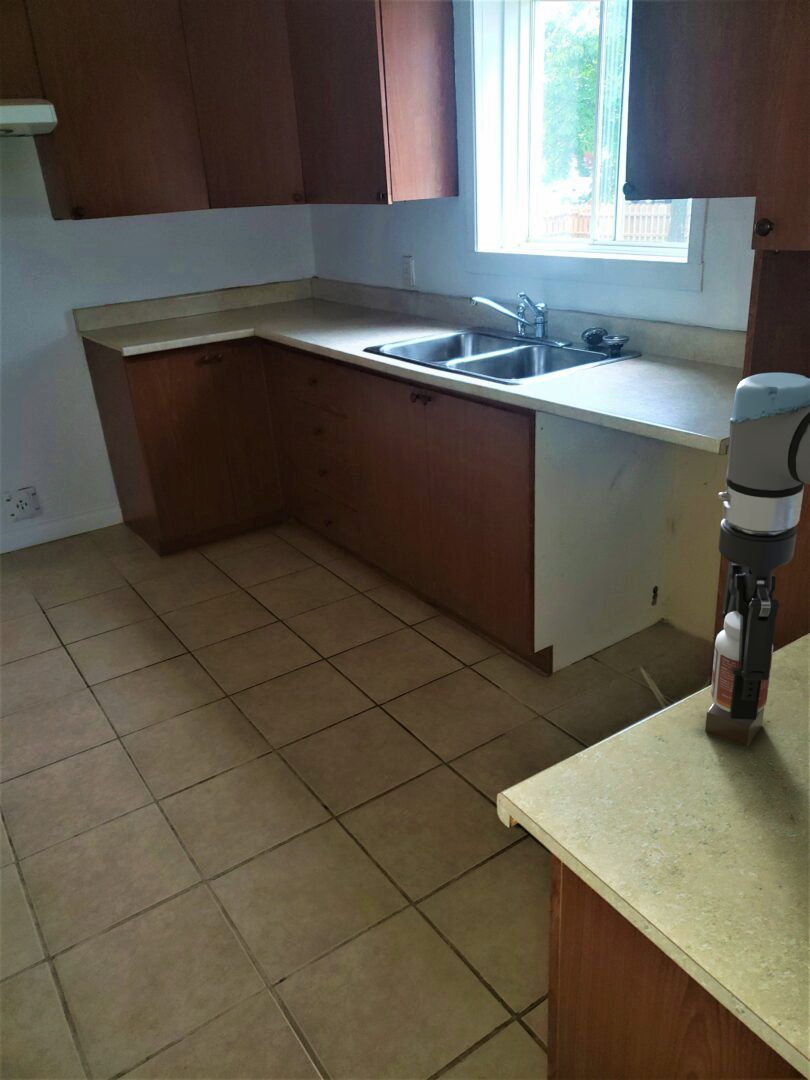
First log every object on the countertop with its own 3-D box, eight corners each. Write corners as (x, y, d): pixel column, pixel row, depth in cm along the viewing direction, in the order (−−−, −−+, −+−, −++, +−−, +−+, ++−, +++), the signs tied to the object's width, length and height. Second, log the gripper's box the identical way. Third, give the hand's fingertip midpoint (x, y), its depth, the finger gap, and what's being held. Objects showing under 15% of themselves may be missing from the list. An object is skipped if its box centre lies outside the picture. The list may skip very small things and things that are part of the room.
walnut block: (721, 710, 102) (723, 691, 100) (762, 725, 99) (764, 705, 97) (704, 732, 98) (706, 711, 97) (746, 748, 95) (749, 727, 94)
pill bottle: (777, 710, 94) (789, 629, 90) (729, 721, 93) (739, 639, 88) (745, 680, 100) (754, 602, 95) (699, 690, 99) (707, 612, 94)
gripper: (707, 487, 96) (692, 652, 106) (738, 562, 79) (717, 750, 89) (775, 487, 94) (754, 654, 104) (822, 563, 77) (791, 754, 87)
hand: (737, 698), depth 96 cm, fingers closed on pill bottle, 6 cm apart
